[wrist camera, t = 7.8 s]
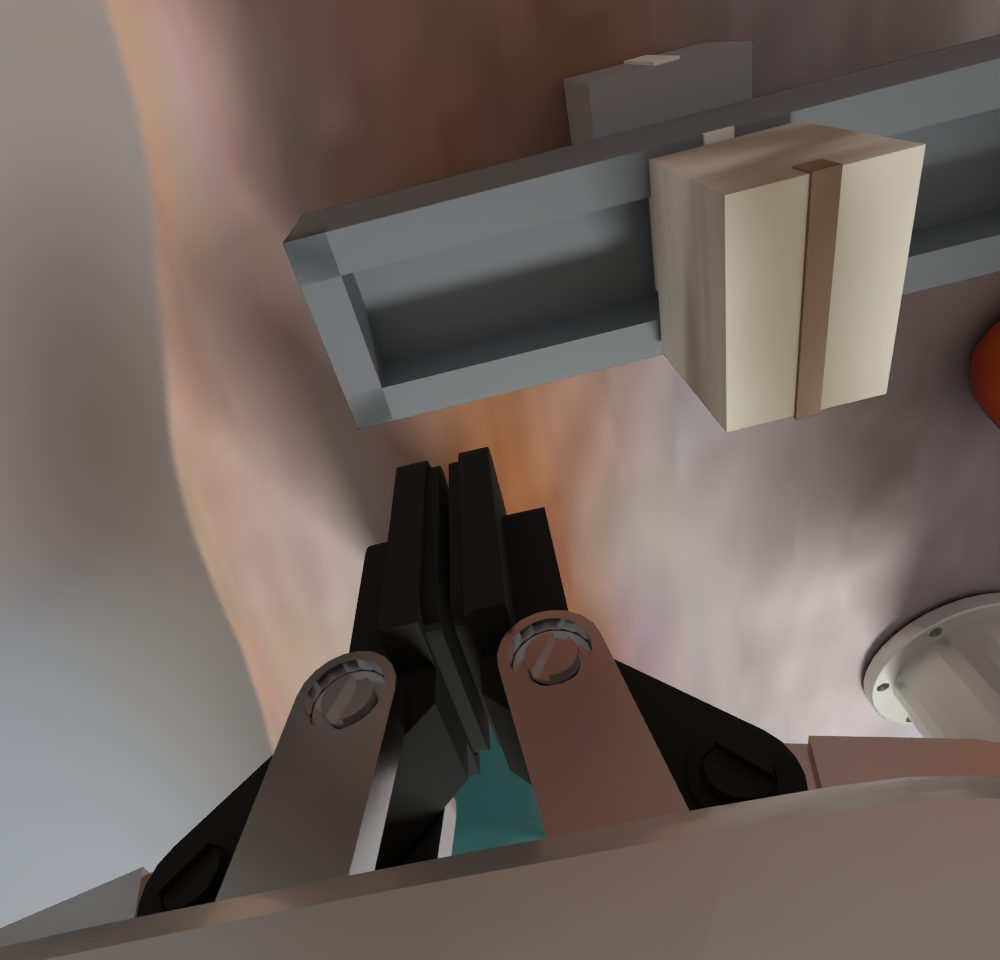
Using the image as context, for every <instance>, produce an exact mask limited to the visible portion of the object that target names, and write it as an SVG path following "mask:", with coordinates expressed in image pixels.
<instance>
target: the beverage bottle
mask: <svg viewBox="0 0 1000 960" xmlns="http://www.w3.org/2000/svg"><path fill="white" fill-rule="evenodd" d="M489 732H490V750H487V751H482V752H479V756H480V774H478V775H473V776H468V780H467V781H466V782H465V783H464V785H463V786H462V787H461V788H460V789H459V791H458V792H457V793H456V794H455V795H454V798H455V801H456V823H455V830H454V838H453V846H452V854H451V856H453V855H459V854H464V853H469V852H474V851H479V850H485V849H490V848H495V847H500V846H505V845H511V844H516V843H521V842H527V841H532V840H537V839H543V838H547V836H546V832H545V829H544V825H543V822H542V818H541V815H540V811H539V808H538V804H537V801H536V797H535V794H534V790H533V787H532V785H530V784H529V783H527V782H526V781H525V780H523V779H522V778H520V777H519V776H517V775H516V774H514V773H513V772H512V771H510V769H509V766H508V763H507V761H506V758H505V755H504V752H503V750H502V748H500V747H499V746H498V743H497V741H496V738H495V735H494V733H493V730H492V727H491V725H490V722H489Z"/></svg>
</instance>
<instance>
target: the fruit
mask: <svg viewBox="0 0 1000 960" xmlns="http://www.w3.org/2000/svg"><path fill="white" fill-rule="evenodd" d="M968 386H969V389H970V391H971V393H972V395H973V397H974V400H975V401H976V402H977V403H978V404H979V406H980V407H981V408H982V410H983V411H984V412H985V413H986V415H987V416H988V417H989V418H990V419H991V420H992V421H993V422H994V423H995V425H996V426H997V427H998V428H999V429H1000V321H998V322H997V323H996V324H994V325H993V326H992V327H991V328H990V329H989V330H988V331H987V332H986V334H985V335H984V336H983V337H982V339H981V340H980V341H979V343H978V344H977V346H976V348H975V350H974V352H973V355H972V357H971V369H970V374H969V384H968Z"/></svg>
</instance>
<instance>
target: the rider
mask: <svg viewBox="0 0 1000 960" xmlns="http://www.w3.org/2000/svg"><path fill="white" fill-rule="evenodd" d="M925 146H926V144H922V143H916V142H911V141H905V140H900V139H894V138H889V137H883V136H878V135H872V134H867V133H861V132H856V131H850V130H845V129H839V128H834V127H828V126H823V125H818V124H812V123H807V122H801V121H797V122H793V123H789V124H785V125H782V126H778V127H774V128H770V129H766V130H762V131H758V132H754V133H751V134H747V135H743V136H739V137H735V138H731V139H727V140H723V141H719V142H716V143H712V144H708V145H704V146H700V147H696V148H692V149H688V150H684V151H681V152H677V153H673V154H669V155H665V156H661V157H657V158H653V159H650V160H649V170H650V184H651V197H649V209H650V222H651V236H652V250H653V263H654V277H655V289H656V290H657V291H658V297H659V311H660V325H661V339H662V353H663V354H664V356H665V357H666V358H667V359H668V360H669V362H670V363H671V364H672V365H673V367H674V368H675V369H676V370H677V372H678V373H679V374H680V375H681V377H682V378H683V379H684V380H685V381H686V383H687V384H688V385H689V386H690V388H691V389H692V390H693V391H694V393H695V394H696V395H697V396H698V398H699V399H700V400H701V401H702V402H703V404H704V405H705V406H706V407H707V409H708V410H709V411H710V412H711V414H712V415H713V416H714V417H715V419H716V420H717V421H718V422H719V423H720V425H721V426H722V427H723V428H724V430H725V431H726V432H730V431H734V430H738V429H743V428H747V427H751V426H755V425H759V424H763V423H767V422H772V421H776V420H780V419H784V418H788V417H792V416H793V417H794V418H795V419H796V420H797V419H801V418H805V417H809V416H814V415H818V414H820V410H821V409H826V408H830V407H834V406H838V405H842V404H846V403H850V402H855V401H859V400H863V399H867V398H871V397H875V396H879V395H884V394H886V392H887V386H888V380H889V374H890V367H891V361H892V355H893V348H894V342H895V336H896V329H897V323H898V317H899V310H900V304H901V298H902V292H903V285H904V279H905V273H906V266H907V260H908V254H909V247H910V241H911V235H912V228H913V222H914V216H915V209H916V203H917V197H918V191H919V184H920V178H921V172H922V165H923V159H924V153H925Z"/></svg>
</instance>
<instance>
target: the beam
mask: <svg viewBox="0 0 1000 960" xmlns="http://www.w3.org/2000/svg"><path fill="white" fill-rule="evenodd" d="M623 62H624V63H623V64H619V65H615V66H611V67H607V68H604V69H600V70H596V71H592V72H588V73H585V74H581V75H577V76H573V77H569V78H566V79H563V83H564V91H565V98H566V106H567V113H568V121H569V128H570V136H571V143H572V145H571V146H567V147H563V148H559V149H555V150H551V151H547V152H544V153H540V154H536V155H532V156H528V157H524V158H520V159H517V160H513V161H509V162H505V163H501V164H497V165H493V166H490V167H486V168H482V169H478V170H474V171H470V172H467V173H463V174H459V175H455V176H451V177H447V178H443V179H440V180H436V181H432V182H428V183H424V184H420V185H416V186H413V187H409V188H405V189H401V190H397V191H393V192H389V193H386V194H382V195H378V196H374V197H370V198H366V199H362V200H359V201H355V202H351V203H347V204H343V205H339V206H335V207H332V208H328V209H324V210H320V211H316V212H312V213H308V214H305V215H302V217H301V218H300V220H299V221H298V222H297V224H296V225H295V227H294V228H293V229H292V231H291V232H290V234H289V235H288V237H287V238H286V239H285V241H284V242H283V245H284V248H285V250H286V253H287V255H288V258H289V260H290V263H291V265H292V268H293V270H294V273H295V275H296V278H297V280H298V282H299V285H300V287H301V290H302V292H303V295H304V297H305V300H306V302H307V305H308V307H309V310H310V312H311V315H312V317H313V319H314V322H315V324H316V327H317V329H318V332H319V334H320V337H321V339H322V342H323V344H324V347H325V349H326V352H327V354H328V356H329V359H330V361H331V364H332V366H333V369H334V371H335V374H336V376H337V379H338V381H339V384H340V386H341V389H342V391H343V393H344V396H345V398H346V401H347V403H348V406H349V408H350V411H351V413H352V416H353V418H354V421H355V423H356V426H357V428H358V429H362V428H366V427H370V426H374V425H378V424H382V423H386V422H390V421H394V420H398V419H403V418H407V417H411V416H415V415H419V414H423V413H427V412H431V411H435V410H439V409H443V408H447V407H451V406H455V405H459V404H463V403H467V402H472V401H476V400H480V399H484V398H488V397H492V396H496V395H500V394H504V393H508V392H512V391H516V390H520V389H524V388H528V387H532V386H536V385H540V384H545V383H549V382H553V381H557V380H561V379H565V378H569V377H573V376H577V375H581V374H585V373H589V372H593V371H597V370H601V369H605V368H609V367H614V366H618V365H622V364H626V363H630V362H634V361H638V360H642V359H646V358H650V357H654V356H658V355H662V354H663V353H662V339H661V325H660V311H659V297H658V291H657V290H656V289H655V277H654V263H653V250H652V236H651V222H650V209H649V197H651V184H650V170H649V160H650V159H653V158H657V157H661V156H665V155H669V154H673V153H677V152H681V151H684V150H688V149H692V148H696V147H700V146H704V145H708V144H712V143H716V142H719V141H723V140H727V139H731V138H735V137H739V136H743V135H747V134H751V133H754V132H758V131H762V130H766V129H770V128H774V127H778V126H782V125H785V124H789V123H793V122H797V121H801V122H807V123H812V124H818V125H823V126H828V127H834V128H839V129H845V130H850V131H856V132H861V133H867V134H872V135H878V136H883V137H889V138H894V139H900V140H905V141H911V142H916V143H922V144H926V146H925V153H924V159H923V165H922V172H921V178H920V184H919V191H918V197H917V203H916V209H915V216H914V222H913V228H912V235H911V241H910V247H909V254H908V260H907V266H906V273H905V279H904V285H903V292H902V295H906V294H910V293H914V292H918V291H922V290H926V289H930V288H934V287H938V286H942V285H946V284H950V283H954V282H958V281H963V280H967V279H971V278H975V277H979V276H983V275H987V274H991V273H995V272H999V271H1000V34H999V35H995V36H991V37H987V38H983V39H979V40H976V41H972V42H968V43H964V44H960V45H956V46H952V47H949V48H945V49H941V50H937V51H933V52H929V53H925V54H922V55H918V56H914V57H910V58H906V59H902V60H898V61H895V62H891V63H887V64H883V65H879V66H875V67H871V68H868V69H864V70H860V71H856V72H852V73H848V74H844V75H841V76H837V77H833V78H829V79H825V80H821V81H817V82H814V83H810V84H806V85H802V86H798V87H794V88H790V89H787V90H783V91H779V92H775V93H771V94H767V95H763V96H760V97H756V98H752V65H753V41H731V42H702V43H699V44H695V45H691V46H687V47H683V48H680V49H676V50H672V51H668V52H664V53H661V54H657V55H644V56H640V57H636V58H633V59H629V60H625V61H623Z"/></svg>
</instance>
